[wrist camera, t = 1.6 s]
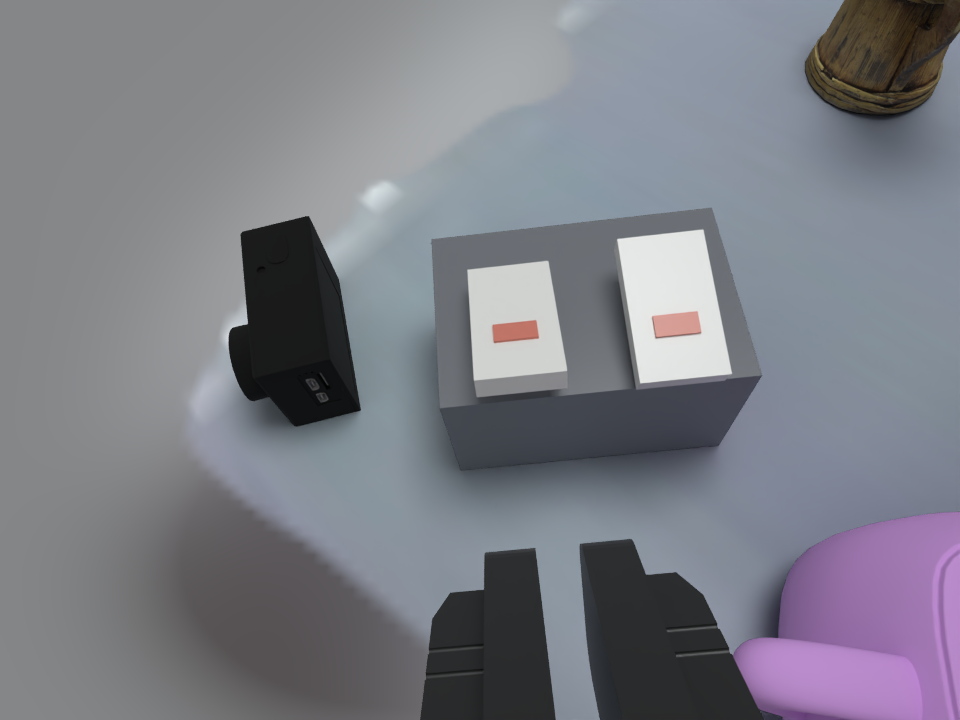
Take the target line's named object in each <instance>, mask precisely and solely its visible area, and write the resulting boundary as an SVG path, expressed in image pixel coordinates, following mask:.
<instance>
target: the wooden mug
mask: <svg viewBox="0 0 960 720" xmlns="http://www.w3.org/2000/svg"><path fill="white" fill-rule="evenodd" d="M959 32H960V0H844V2H843V4H842V5H841V7H840V9H839V11H838V12H837V14H836V16H835V17H834V19H833V21H832V22H831V24H830V26H829V28H828V29H827V31H826V32H825V33H824V34H823V35H822V36H821V37H820V38H819V40H818V42H817V43H816V45H815V46H814V48H813V49H812V51H811V53H810V54H809V56H808V58H807V60H806V67H805V72H806V75H807V78H808V81H809V83H810V84H811V85H812V87H813V88H814V89H815V90H816V91H817V92H818V93H819V94H820V96H821V97H822V98H823V99H824V100H826V101H828V102H829V103H831V104H833V105H835V106H837V107H839V108H841V109H845V110H849V111H853V112H856V113H862V114H869V115H880V114H888V115H892V114H896V113H900V112H904V111H907V110H910V109H912V108H914V107H916V106H918V105H920V104H922V103H923V102H924V101H925V100H927V99H928V98H929V97H930V96H931V95H932V93H933V91H934V89H935V87H936V85H937V83H938V81H939V79H940V77H941V73H942V69H943V59H944V56H945V54H946V52H947V49H948V47H949V45H950V43H951V42H952V41H953V40H954V38H955V37H956V36H957V34H958V33H959Z"/></svg>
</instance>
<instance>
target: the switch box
mask: <svg viewBox="0 0 960 720" xmlns="http://www.w3.org/2000/svg"><path fill="white" fill-rule="evenodd" d="M702 229H703V230H704V235H705V240H706V245H707V250H708V256H709V261H710V266H711V271H712V276H713V281H714V286H715V291H716V296H717V301H718V306H719V311H720V316H721V321H722V326H723V331H724V336H725V341H726V346H727V351H728V356H729V361H730V366H731V371H732V375H730V376H729V377H728V378H727V379H726V380H725V381H717V382H707V383H697V384H688V385H678V386H668V387H658V388H648V389H639V390H636V386H635V380H634V373H633V367H632V360H631V354H630V348H629V341H628V335H627V329H626V322H625V316H624V309H623V303H622V297H621V290H620V284H619V278H618V271H617V265H616V258H615V252H614V249H615V245H616V242H617V239H622V238H631V237H640V236H649V235H658V234H667V233H676V232H685V231H694V230H702ZM432 259H433V280H434V301H435V322H436V343H437V364H438V386H439V407H440V411H441V414H442V417H443V420H444V423H445V425H446V428H447V431H448V434H449V437H450V440H451V443H452V446H453V449H454V451H455V454H456V457H457V460H458V463H459V466H460V469H461V470H470V469H480V468H490V467H500V466H510V465H521V464H531V463H541V462H551V461H562V460H572V459H582V458H592V457H602V456H613V455H623V454H633V453H643V452H653V451H664V450H674V449H684V448H694V447H705V446H715V445H719V444H720V443H721V441H722V439H723V438H724V436H725V435H726V433H727V431H728V430H729V428H730V426H731V425H732V423H733V422H734V420H735V418H736V417H737V415H738V414H739V412H740V410H741V409H742V407H743V405H744V404H745V402H746V401H747V399H748V397H749V396H750V394H751V393H752V391H753V389H754V388H755V386H756V384H757V383H758V381H759V380H760V378H761V376H762V373H761V370H760V367H759V363H758V360H757V357H756V353H755V350H754V347H753V343H752V340H751V337H750V333H749V330H748V327H747V323H746V320H745V317H744V313H743V310H742V307H741V303H740V300H739V297H738V293H737V290H736V287H735V283H734V280H733V277H732V273H731V270H730V267H729V263H728V260H727V257H726V253H725V250H724V247H723V243H722V240H721V237H720V234H719V230H718V227H717V224H716V220H715V217H714V214H713V210H712V208H705V209H696V210H687V211H678V212H670V213H661V214H652V215H643V216H634V217H625V218H617V219H608V220H599V221H590V222H581V223H572V224H563V225H555V226H546V227H537V228H528V229H519V230H510V231H502V232H493V233H484V234H475V235H466V236H457V237H448V238H440V239H432ZM542 261H548V262H549V268H550V273H551V279H552V285H553V291H554V296H555V302H556V308H557V314H558V319H559V325H560V331H561V337H562V342H563V348H564V354H565V360H566V365H567V383H568V388H564V389H554V390H544V391H534V392H525V393H515V394H505V395H495V396H486V397H477V396H476V390H475V384H474V375H473V358H472V340H471V323H470V306H469V289H468V272H467V270H469V269H478V268H487V267H496V266H505V265H515V264H524V263H533V262H542Z"/></svg>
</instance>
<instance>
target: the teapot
mask: <svg viewBox="0 0 960 720" xmlns="http://www.w3.org/2000/svg"><path fill="white" fill-rule="evenodd" d="M733 657H734V659H735V662H736V664H737V666H738V668H739V670H740V672H741V674H742V676H743V678H744V680H745V682H746V684H747V686H748V688H749V690H750V692H751V694H752V696H753V699H754V701H755V703H756V705H757V707H758V709H760V710H762V711H766V712H769V713H772V714H776V715H779V716H782V717H783V720H960V512H945V513H934V514H926V515H918V516H911V517H906V518H900V519H894V520H889V521H884V522H878V523H873V524H869V525H866V526H862V527H859V528H855V529H852V530H848V531H845V532H842V533H838V534H835V535H833V536H831V537H829V538H827V539H825V540H824V541H822V542H820V543H818V544H816V545H814V546H812V547H811V548H809V549H808V550H807V551H806V552H805V553H803V554H802V555H801V556H800V557H799V558H798V559H797V560H796V562H795V563H794V565H793V566H792V568H791V570H790V571H789V573H788V576H787V579H786V582H785V585H784V588H783V591H782V596H781V607H780V618H779V638H756V639H751V640H748V641H746V642H744V643H742V644H741V645H740V646H739V647H738V648H737V649H736V650H735V653H734V655H733Z"/></svg>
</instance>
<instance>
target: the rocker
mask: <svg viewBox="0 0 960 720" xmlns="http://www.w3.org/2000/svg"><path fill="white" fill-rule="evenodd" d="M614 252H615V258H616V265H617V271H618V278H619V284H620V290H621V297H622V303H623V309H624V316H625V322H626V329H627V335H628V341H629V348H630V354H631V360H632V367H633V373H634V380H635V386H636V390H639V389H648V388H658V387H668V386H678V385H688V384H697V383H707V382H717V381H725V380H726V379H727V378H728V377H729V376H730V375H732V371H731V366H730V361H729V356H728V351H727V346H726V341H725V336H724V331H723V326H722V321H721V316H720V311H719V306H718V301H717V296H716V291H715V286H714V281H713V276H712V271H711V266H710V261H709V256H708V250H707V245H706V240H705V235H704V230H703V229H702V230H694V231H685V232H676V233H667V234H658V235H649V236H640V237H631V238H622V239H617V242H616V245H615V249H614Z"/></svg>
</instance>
